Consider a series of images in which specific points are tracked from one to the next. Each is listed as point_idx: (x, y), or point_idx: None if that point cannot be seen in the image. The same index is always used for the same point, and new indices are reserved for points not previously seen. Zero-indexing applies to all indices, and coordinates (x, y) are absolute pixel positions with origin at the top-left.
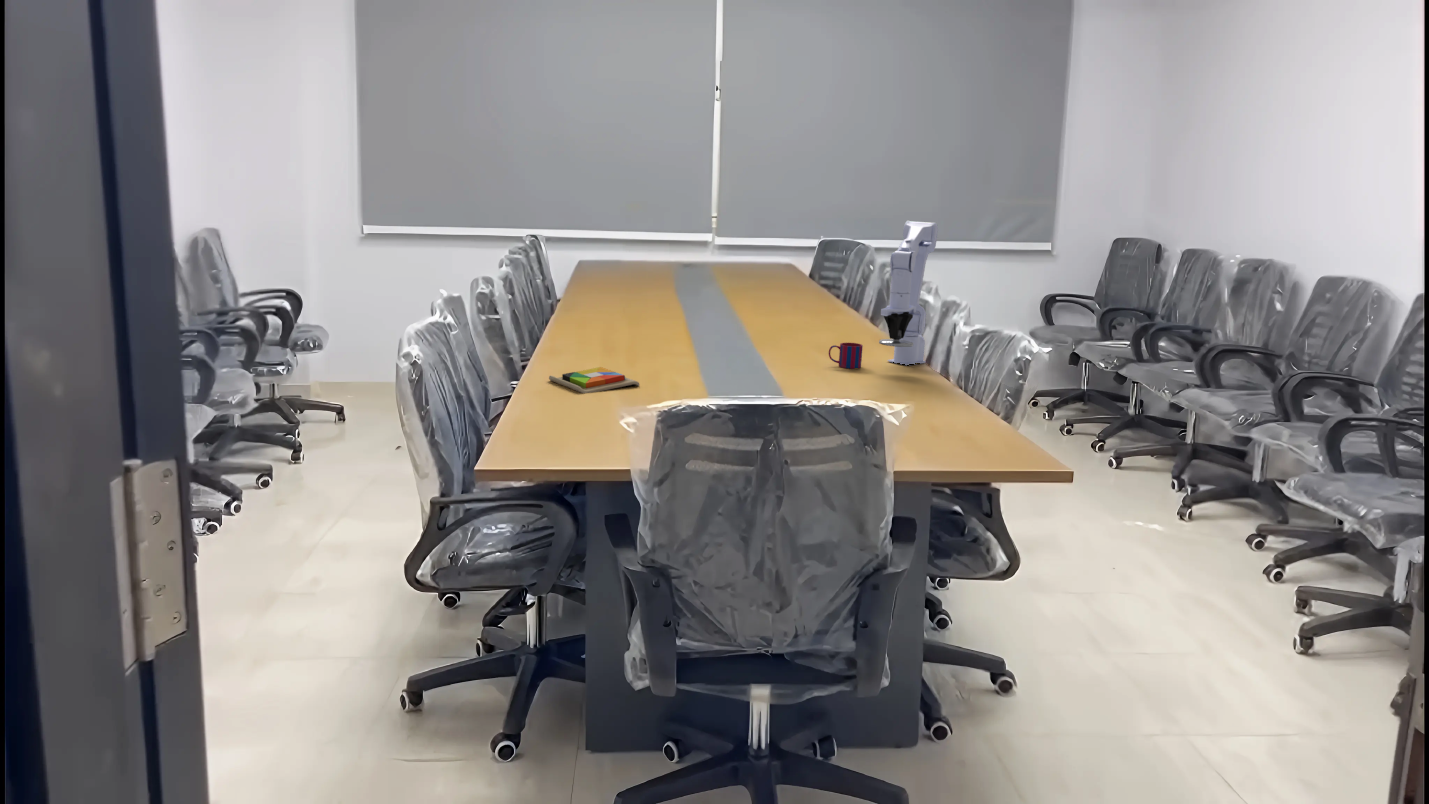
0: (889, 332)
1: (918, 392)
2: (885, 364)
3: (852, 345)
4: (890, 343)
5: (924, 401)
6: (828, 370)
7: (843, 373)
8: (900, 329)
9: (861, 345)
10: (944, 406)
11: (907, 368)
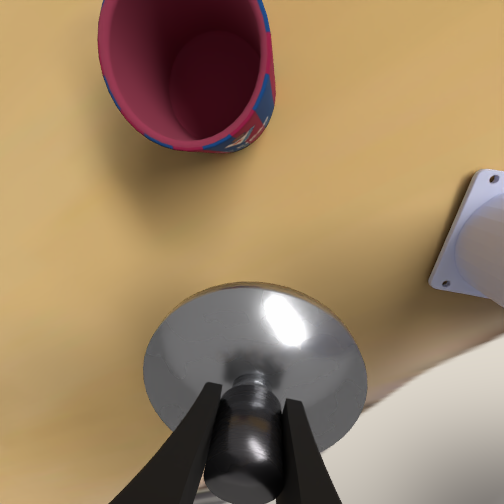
0: (186, 418)
1: (79, 433)
2: (403, 193)
3: (256, 24)
4: (151, 393)
5: (21, 463)
6: (64, 74)
7: (77, 163)
8: (284, 490)
9: (216, 137)
10: (27, 495)
11: (378, 298)
